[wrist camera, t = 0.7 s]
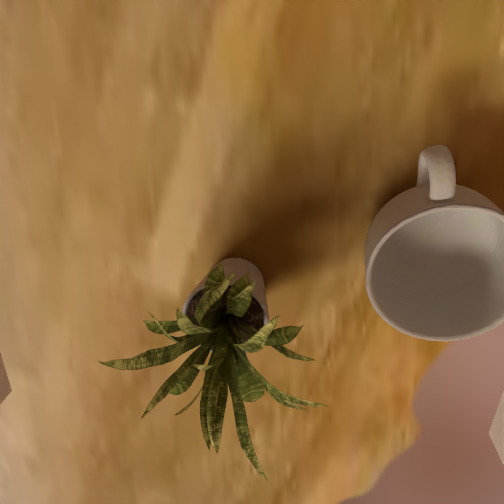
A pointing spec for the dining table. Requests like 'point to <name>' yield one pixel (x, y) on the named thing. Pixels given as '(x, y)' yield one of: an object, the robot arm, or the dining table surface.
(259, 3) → the dining table surface
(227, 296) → the house plant
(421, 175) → the teacup
